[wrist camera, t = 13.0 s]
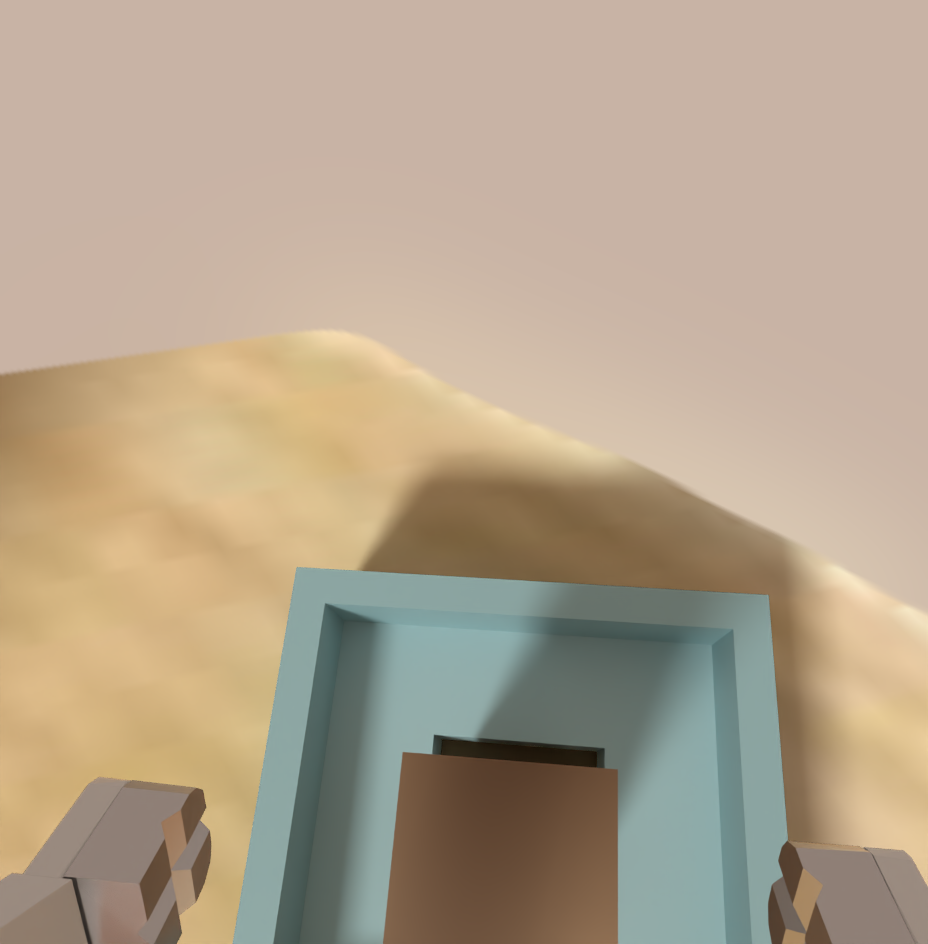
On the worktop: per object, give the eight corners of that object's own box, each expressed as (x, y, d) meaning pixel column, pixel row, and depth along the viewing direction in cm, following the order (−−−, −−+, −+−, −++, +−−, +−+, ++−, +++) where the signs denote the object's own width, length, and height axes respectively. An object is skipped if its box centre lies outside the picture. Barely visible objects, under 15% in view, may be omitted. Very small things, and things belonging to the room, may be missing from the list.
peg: (455, 886, 27) (376, 1004, 12) (464, 768, 29) (402, 752, 14) (565, 897, 27) (618, 1033, 12) (568, 777, 28) (617, 769, 14)
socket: (268, 1067, 25) (198, 1145, 20) (336, 605, 32) (296, 567, 26) (750, 1128, 24) (819, 1230, 18) (723, 629, 30) (768, 595, 25)
